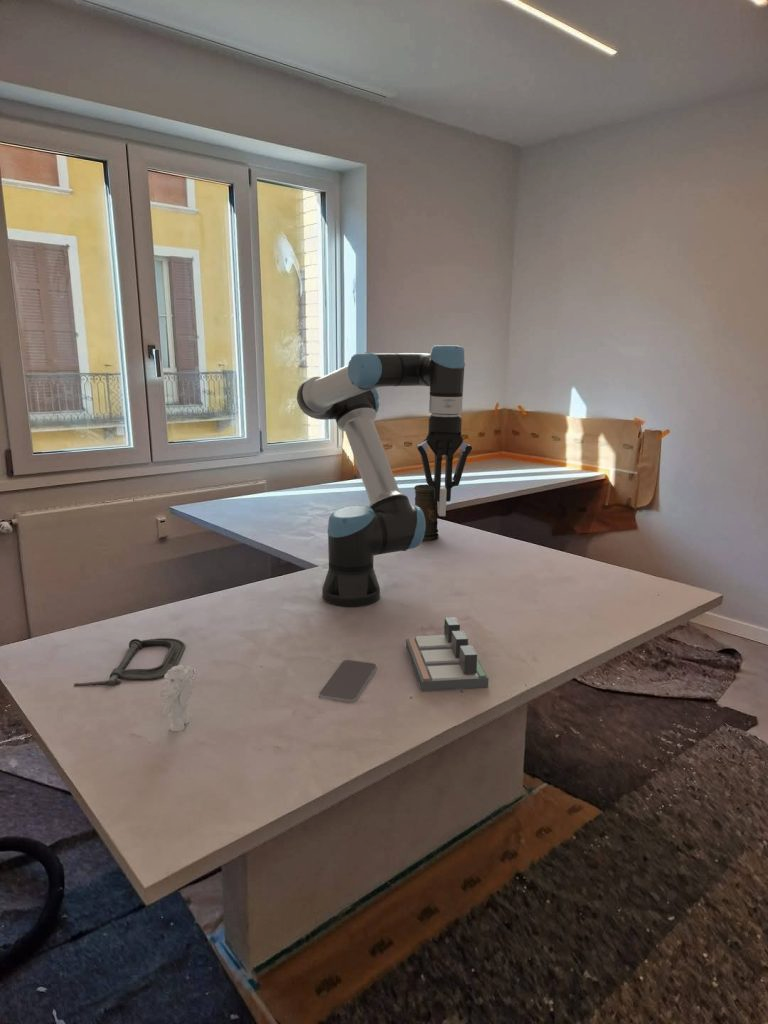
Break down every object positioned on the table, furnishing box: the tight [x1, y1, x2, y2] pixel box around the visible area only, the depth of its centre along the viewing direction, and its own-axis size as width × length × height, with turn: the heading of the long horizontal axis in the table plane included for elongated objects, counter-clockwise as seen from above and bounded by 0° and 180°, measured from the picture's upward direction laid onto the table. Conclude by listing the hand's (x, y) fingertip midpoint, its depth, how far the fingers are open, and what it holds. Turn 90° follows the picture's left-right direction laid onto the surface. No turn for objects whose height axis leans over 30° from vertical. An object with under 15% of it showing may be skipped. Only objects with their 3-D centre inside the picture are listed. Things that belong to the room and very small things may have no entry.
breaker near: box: [459, 644, 478, 674], centre depth 127 cm, size 2×4×4 cm, turn 7°
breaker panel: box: [405, 634, 489, 692], centre depth 134 cm, size 13×19×2 cm
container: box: [414, 484, 439, 541], centre depth 224 cm, size 9×9×18 cm
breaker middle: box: [451, 630, 469, 658], centre depth 134 cm, size 2×4×4 cm, turn 7°
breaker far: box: [443, 616, 461, 643], centre depth 140 cm, size 2×4×4 cm, turn 7°
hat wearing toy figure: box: [158, 664, 197, 732], centre depth 111 cm, size 9×4×12 cm, turn 168°
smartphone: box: [318, 659, 377, 703], centre depth 128 cm, size 7×1×15 cm
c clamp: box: [73, 637, 186, 688], centre depth 135 cm, size 20×17×3 cm
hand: (441, 514), depth 155 cm, fingers closed
